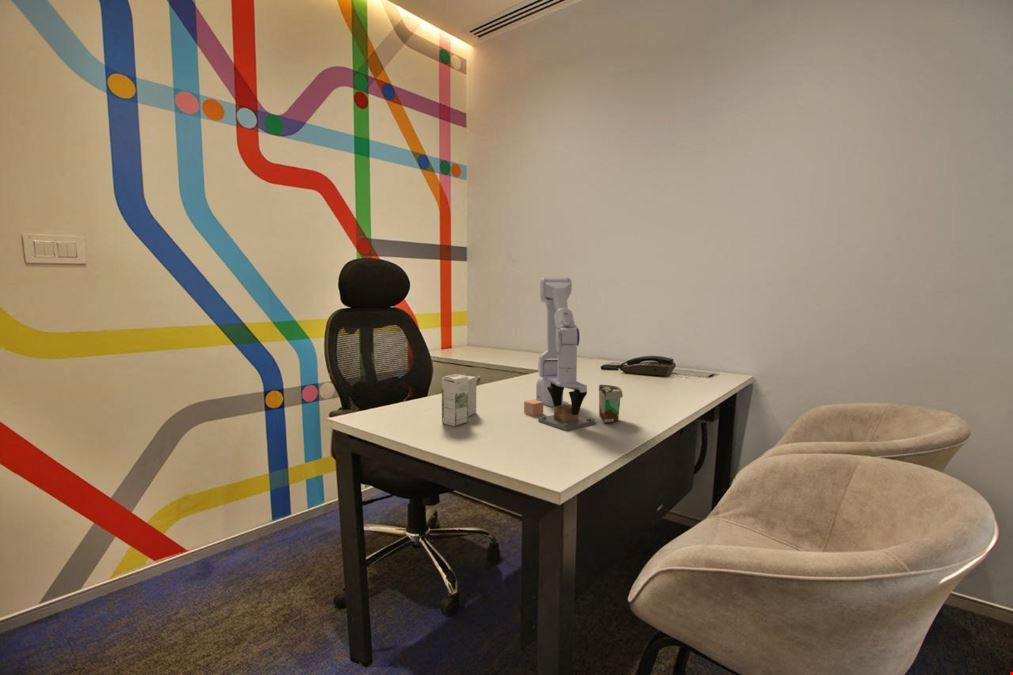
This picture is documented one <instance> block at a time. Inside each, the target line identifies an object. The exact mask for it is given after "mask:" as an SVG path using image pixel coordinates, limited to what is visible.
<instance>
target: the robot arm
mask: <svg viewBox="0 0 1013 675" xmlns="http://www.w3.org/2000/svg"><path fill="white" fill-rule="evenodd" d="M539 288H540V289H539V290H540V291H539V294H540V295H539V296H540V301H541V302H543V303H545V306H546V350H545V351H544V352H542V353H541V354H540V355H539V357H538V366H537V367H538V370H537V371H538V375H539V378H538V379H537V382H536V388H535V389H536V391H535V392H536V395H535V398H536V399H535V400H538V401H541V402H543V405H545V406H549V407H551V408H552V407H553V408H554V406H559V405H564V404H569V401H566V400H564V390H565V389H569V390H571V391H568V396H569V398H570V404H572V415H577V414H579V413H580V410H581V406H582V404H583V401H584V399H585V398H586V396H587V394H588V385H586V384H584V383H581V382H579V381H577V379H578V378H577V374H578V373H577V372H578V371H577V370H578V367H577V366H578V365H577V364H578V362H577V361H578V347H579V344H580V340H581V336H580V329H579V326H578V325H577V324H575V318H574V315H573V312H572V311H571V310H570V309H569V308H568V306H569V305H568V299H569V297H570V295H571V294H572V288H573V284H572V279H571V278H570V276H569V277H542V278H541V279H540V287H539ZM579 415H580V414H579Z"/></svg>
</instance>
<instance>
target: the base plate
mask: <svg viewBox="0 0 1013 675" xmlns="http://www.w3.org/2000/svg"><path fill="white" fill-rule="evenodd" d="M537 420H538V422H539V423H542V424H545V425H547V426H549V427H553V428H556V429H559V430H562V431H565V432H568V431H571V430H576V429H578V428H579V429H580V428H584V427H586V426H587V425H588V426H591V425H595V423H596V421H595V419H592V417H584V416H581V415H578V420H574V421H569V422H565V423H563V422H560V421H557V420H554V414H553V415H552V414H551V415H547V416H546V415H542V416H541V417H538V419H537ZM583 426H584V427H583Z"/></svg>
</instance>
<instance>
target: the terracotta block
mask: <svg viewBox="0 0 1013 675" xmlns="http://www.w3.org/2000/svg"><path fill="white" fill-rule="evenodd" d="M523 413H524V414H525V415H528V416H531V417H534V416H540V415H543V414H544V404H543V402H541V401H538V400H536V399H530V400H525V401H524V402H523Z"/></svg>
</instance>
